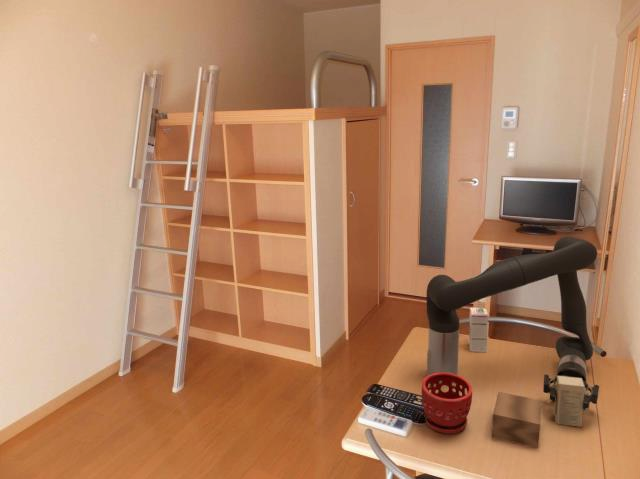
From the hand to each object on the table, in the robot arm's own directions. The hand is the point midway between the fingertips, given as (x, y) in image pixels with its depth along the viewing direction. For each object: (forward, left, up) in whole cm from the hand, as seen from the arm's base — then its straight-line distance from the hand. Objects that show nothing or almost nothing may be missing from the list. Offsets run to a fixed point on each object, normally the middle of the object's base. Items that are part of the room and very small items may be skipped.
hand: (569, 402), depth 127 cm
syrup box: (-24, +38, -7) cm, 46 cm away
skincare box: (0, +2, -7) cm, 7 cm away
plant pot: (-31, -8, -7) cm, 32 cm away
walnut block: (-13, -5, -7) cm, 15 cm away
